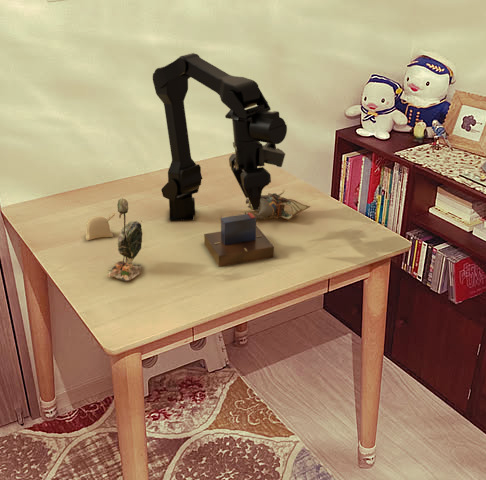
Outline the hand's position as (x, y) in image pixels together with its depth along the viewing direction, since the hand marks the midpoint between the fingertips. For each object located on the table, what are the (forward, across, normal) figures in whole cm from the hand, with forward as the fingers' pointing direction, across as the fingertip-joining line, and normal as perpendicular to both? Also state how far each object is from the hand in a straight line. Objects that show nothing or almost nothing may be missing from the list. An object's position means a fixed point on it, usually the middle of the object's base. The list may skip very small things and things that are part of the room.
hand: (251, 203), depth 172 cm
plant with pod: (+11, -3, +32) cm, 34 cm away
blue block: (+9, +1, +4) cm, 10 cm away
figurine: (+11, +18, -10) cm, 24 cm away
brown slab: (+12, +1, +4) cm, 13 cm away
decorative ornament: (+8, +16, +37) cm, 42 cm away
